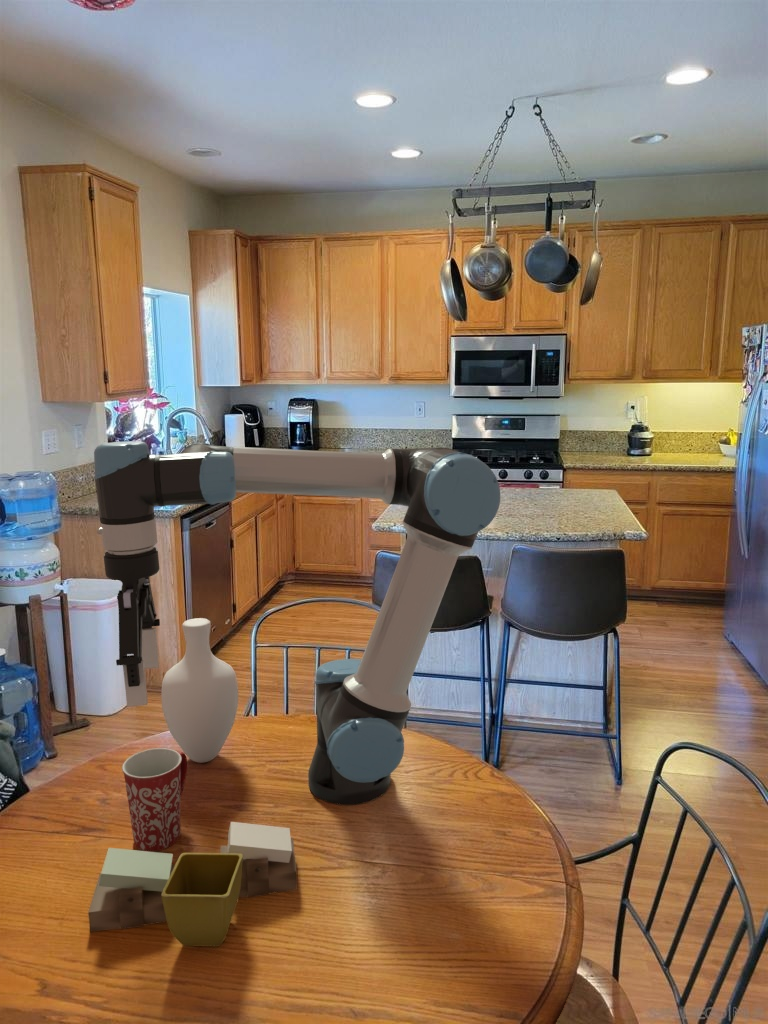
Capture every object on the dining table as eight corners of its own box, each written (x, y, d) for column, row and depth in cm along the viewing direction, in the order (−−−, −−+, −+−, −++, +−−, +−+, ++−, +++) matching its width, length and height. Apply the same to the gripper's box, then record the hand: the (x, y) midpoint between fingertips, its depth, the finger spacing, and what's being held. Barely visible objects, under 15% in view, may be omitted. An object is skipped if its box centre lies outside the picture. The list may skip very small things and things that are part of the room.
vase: (172, 742, 149) (164, 611, 144) (243, 738, 151) (238, 608, 146) (159, 780, 135) (149, 636, 130) (237, 775, 137) (231, 633, 131)
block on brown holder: (293, 854, 114) (292, 824, 113) (297, 890, 106) (296, 858, 105) (221, 862, 112) (220, 832, 111) (219, 900, 104) (218, 868, 103)
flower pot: (184, 908, 102) (181, 851, 101) (246, 909, 102) (243, 852, 100) (164, 957, 94) (159, 895, 92) (231, 959, 93) (228, 897, 92)
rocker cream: (286, 839, 112) (289, 828, 111) (289, 862, 106) (291, 851, 106) (228, 833, 110) (230, 821, 109) (227, 856, 104) (230, 844, 104)
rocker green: (170, 865, 106) (172, 853, 105) (166, 891, 100) (169, 879, 100) (106, 859, 104) (108, 847, 104) (98, 886, 98) (101, 873, 98)
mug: (162, 861, 112) (156, 781, 110) (115, 848, 116) (109, 770, 113) (210, 816, 124) (206, 743, 121) (166, 805, 127) (162, 733, 125)
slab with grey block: (179, 880, 108) (177, 849, 107) (174, 921, 100) (172, 888, 99) (101, 890, 106) (99, 858, 105) (89, 933, 98) (86, 898, 97)
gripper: (118, 532, 117) (131, 656, 121) (84, 573, 93) (102, 726, 97) (166, 529, 118) (177, 652, 122) (145, 568, 94) (160, 720, 98)
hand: (144, 685), depth 110 cm, fingers open, 13 cm apart
